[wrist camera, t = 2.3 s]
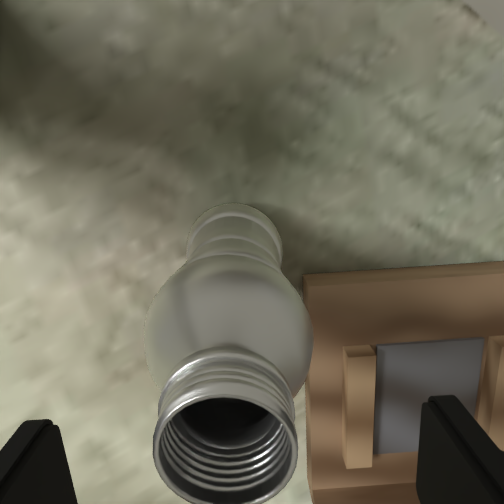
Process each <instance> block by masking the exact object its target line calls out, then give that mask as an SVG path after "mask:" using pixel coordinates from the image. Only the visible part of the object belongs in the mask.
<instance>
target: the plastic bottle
mask: <svg viewBox="0 0 504 504" xmlns="http://www.w3.org/2000/svg"><path fill="white" fill-rule="evenodd" d="M186 256H187V261H186V263H185V264H184V265H183V266H182V267H181V268H180V269H179V270H177V271H176V272H175V273H174V274H173V275H172V276H170V278H169V279H168V280H167V281H166V283H165V284H164V285H163V286H162V287H161V289H160V290H159V292H158V293H157V294H156V295H155V297H154V299H153V301H152V303H151V305H150V307H149V309H148V312H147V316H146V320H145V324H144V348H145V356H146V361H147V366H148V369H149V371H150V374H151V376H152V378H153V381H154V382H155V384H156V385H157V387H158V388H159V389H160V391H161V396H160V400H159V403H158V421H157V425H156V428H155V432H154V435H153V458H154V463H155V467H156V469H157V471H158V473H159V475H160V477H161V478H162V480H163V481H164V482H165V484H166V485H167V486H168V487H169V488H170V489H171V490H172V491H173V492H174V493H175V494H177V495H178V496H180V497H181V498H183V499H185V500H186V501H188V502H190V503H192V504H262V503H264V502H266V501H268V500H269V499H271V498H272V497H274V496H276V495H277V494H278V493H279V492H280V491H281V490H282V489H283V488H284V487H285V486H286V485H287V483H288V482H289V480H290V479H291V477H292V475H293V473H294V470H295V468H296V464H297V458H298V441H297V434H296V429H295V424H294V420H295V408H294V401H293V398H294V397H295V396H296V395H297V393H298V392H299V390H300V388H301V387H302V385H303V384H304V382H305V379H306V377H307V374H308V372H309V368H310V363H311V358H312V352H313V346H314V337H313V326H312V323H311V319H310V316H309V313H308V311H307V309H306V307H305V305H304V303H303V301H302V299H301V298H300V296H299V294H298V292H297V290H296V289H295V288H294V287H293V286H292V284H291V283H290V282H289V281H288V279H287V278H286V277H285V276H284V275H283V273H282V271H281V266H282V257H283V249H282V242H281V238H280V235H279V233H278V231H277V229H276V227H275V225H274V224H273V223H272V222H271V220H270V219H269V218H268V217H267V216H266V215H264V214H263V213H262V212H260V211H259V210H257V209H255V208H253V207H250V206H248V205H245V204H238V203H228V204H222V205H218V206H215V207H213V208H211V209H209V210H207V211H206V212H205V213H203V214H202V215H201V216H200V217H199V218H198V219H197V220H196V222H195V223H194V224H193V226H192V228H191V230H190V232H189V236H188V240H187V255H186Z"/></svg>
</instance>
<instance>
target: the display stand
mask: <svg viewBox="0 0 504 504" xmlns="http://www.w3.org/2000/svg"><path fill="white" fill-rule="evenodd" d="M303 303H304V305H305V307H306V309H307V311H308V313H309V316H310V319H311V323H312V326H313V337H314V346H313V352H312V358H311V363H310V368H309V372H308V374H307V377H306V379H305V394H306V439H307V478H308V483H309V488H310V493H311V498H312V502H313V504H421V503H420V501H419V499H418V495H417V491H416V474H417V461H418V448H419V434H420V421H421V408H422V404H423V403H424V402H428V398H429V397H430V396H438V395H455V396H456V397H457V398H458V399H459V400H460V402H461V403H462V404H463V405H464V407H465V408H466V409H467V410H468V411H469V413H470V414H471V415H472V416H473V418H474V419H475V420H476V421H477V422H478V424H479V425H480V426H481V427H482V428H483V430H484V431H485V432H486V433H487V435H488V436H489V437H490V438H491V439H492V441H493V442H494V443H495V444H496V445H497V447H498V448H499V449H500V450H502V451H504V261H496V262H481V263H466V264H451V265H436V266H421V267H406V268H391V269H377V270H362V271H347V272H332V273H317V274H303Z"/></svg>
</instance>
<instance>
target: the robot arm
mask: <svg viewBox="0 0 504 504" xmlns="http://www.w3.org/2000/svg"><path fill="white" fill-rule="evenodd" d="M416 491H417V495H418V499H419V501H420V503H421V504H504V451H502V450H500V449H499V448H498V447H497V445H496V444H495V443H494V442H493V441H492V439H491V438H490V437H489V436H488V435H487V433H486V432H485V431H484V430H483V428H482V427H481V426H480V425H479V424H478V422H477V421H476V420H475V419H474V418H473V416H472V415H471V414H470V413H469V411H468V410H467V409H466V408H465V407H464V405H463V404H462V403H461V402H460V400H459V399H458V398H457V397H456V396H455V395H438V396H430V397H429V398H428V402H424V403H423V404H422V408H421V421H420V434H419V448H418V461H417V474H416ZM0 504H78V503H77V499H76V495H75V491H74V487H73V482H72V478H71V474H70V470H69V466H68V462H67V458H66V454H65V449H64V445H63V441H62V437H61V433H60V429H59V427H58V426H57V425H53V422H52V421H51V420H49V419H43V420H27V421H25V422H23V423H22V424H21V425H20V427H19V428H18V429H17V430H16V432H15V433H14V434H13V435H12V437H11V438H10V439H9V440H8V442H7V443H6V444H5V446H4V447H3V448H2V449H1V451H0Z"/></svg>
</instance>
